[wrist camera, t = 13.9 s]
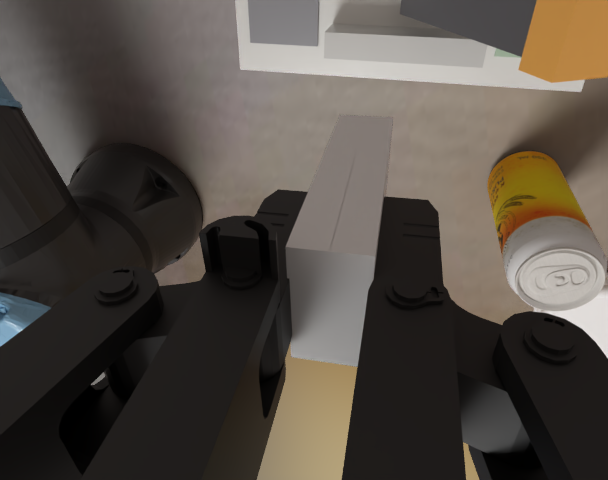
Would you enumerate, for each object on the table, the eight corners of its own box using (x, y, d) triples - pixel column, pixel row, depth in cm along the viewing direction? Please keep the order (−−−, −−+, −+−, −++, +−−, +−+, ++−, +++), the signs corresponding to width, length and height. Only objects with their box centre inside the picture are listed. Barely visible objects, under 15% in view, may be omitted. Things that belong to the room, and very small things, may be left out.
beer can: (480, 158, 42) (501, 254, 30) (554, 138, 39) (609, 234, 27) (493, 213, 44) (516, 321, 32) (562, 198, 42) (616, 308, 30)
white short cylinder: (522, 331, 52) (527, 354, 49) (547, 262, 46) (554, 284, 44) (619, 344, 50) (630, 369, 47) (657, 274, 45) (672, 298, 42)
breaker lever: (393, 21, 29) (551, 82, 18) (400, -50, 27) (586, -28, 16) (432, 18, 30) (607, 77, 19) (442, -50, 28) (647, -30, 17)
